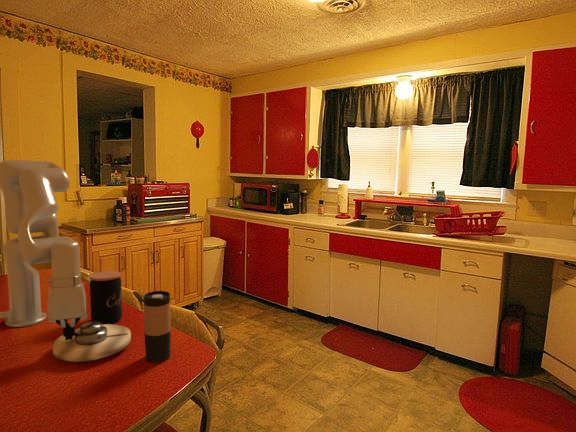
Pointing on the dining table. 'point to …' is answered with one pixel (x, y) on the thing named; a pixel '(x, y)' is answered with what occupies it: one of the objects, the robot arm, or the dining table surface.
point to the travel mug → (157, 326)
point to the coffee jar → (105, 297)
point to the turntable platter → (112, 344)
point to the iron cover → (90, 333)
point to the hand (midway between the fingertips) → (69, 338)
